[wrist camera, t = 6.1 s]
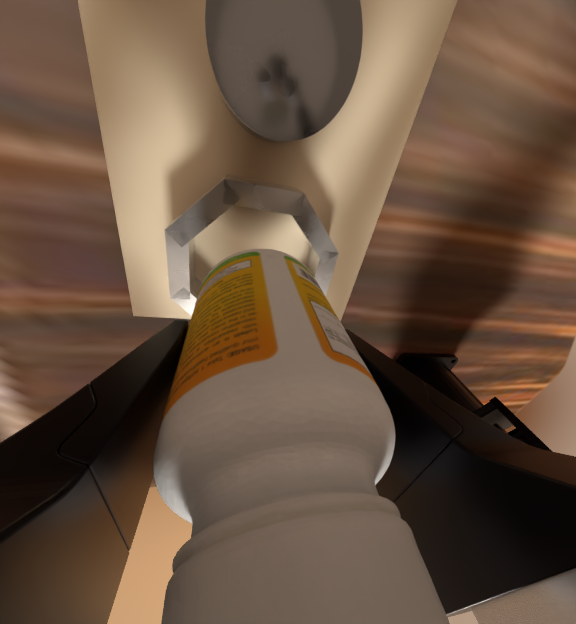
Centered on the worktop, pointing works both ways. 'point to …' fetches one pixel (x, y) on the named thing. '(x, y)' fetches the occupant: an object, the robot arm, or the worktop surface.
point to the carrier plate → (245, 138)
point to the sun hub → (284, 62)
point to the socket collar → (249, 196)
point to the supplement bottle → (282, 463)
